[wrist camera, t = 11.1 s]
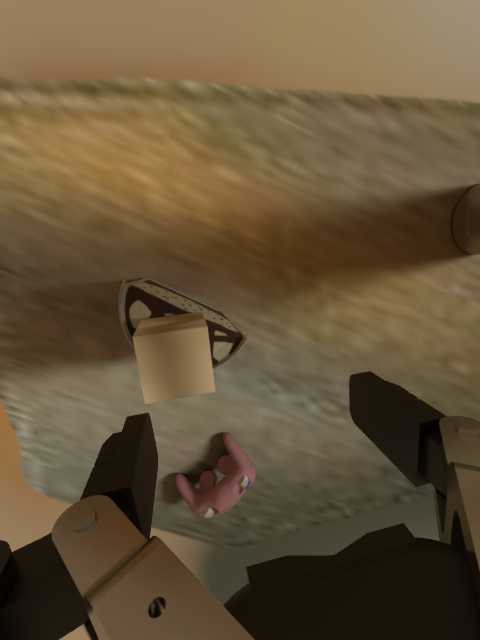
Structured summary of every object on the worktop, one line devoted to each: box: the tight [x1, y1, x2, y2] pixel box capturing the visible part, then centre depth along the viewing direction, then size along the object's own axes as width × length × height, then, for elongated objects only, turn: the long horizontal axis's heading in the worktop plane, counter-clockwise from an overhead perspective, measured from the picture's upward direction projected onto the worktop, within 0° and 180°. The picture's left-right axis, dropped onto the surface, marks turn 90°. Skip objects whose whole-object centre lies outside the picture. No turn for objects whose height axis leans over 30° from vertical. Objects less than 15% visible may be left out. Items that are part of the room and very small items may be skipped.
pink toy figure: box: [175, 433, 256, 519], centre depth 38 cm, size 10×5×7 cm, turn 129°
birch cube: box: [133, 312, 215, 404], centre depth 23 cm, size 5×5×5 cm
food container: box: [118, 278, 249, 370], centre depth 30 cm, size 12×6×10 cm, turn 63°
